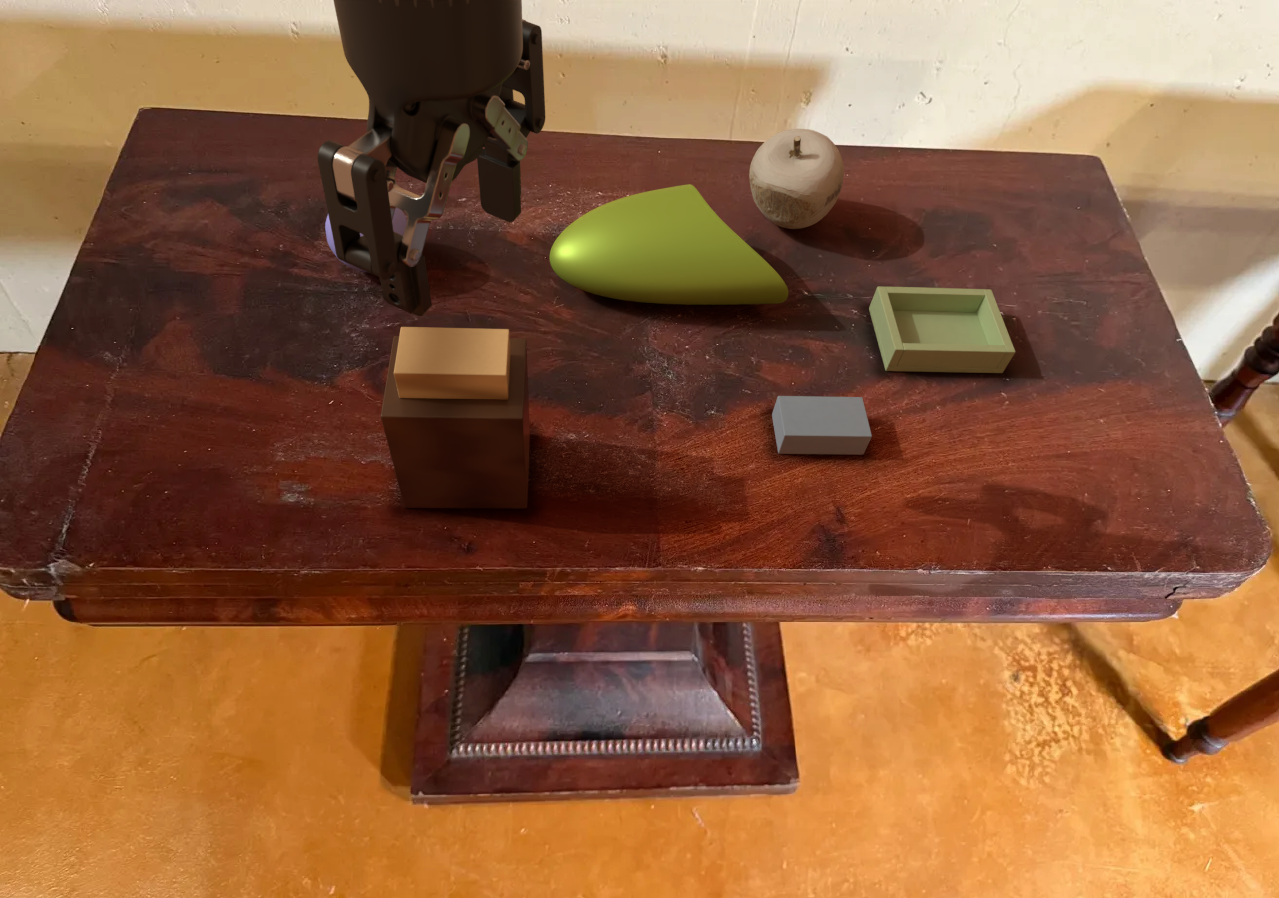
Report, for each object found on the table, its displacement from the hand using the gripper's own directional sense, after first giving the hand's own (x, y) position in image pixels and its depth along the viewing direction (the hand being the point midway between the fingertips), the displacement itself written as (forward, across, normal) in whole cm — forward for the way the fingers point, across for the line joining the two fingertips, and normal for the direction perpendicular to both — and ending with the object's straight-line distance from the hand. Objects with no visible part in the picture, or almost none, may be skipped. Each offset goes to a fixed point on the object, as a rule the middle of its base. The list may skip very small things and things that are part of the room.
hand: (458, 258), depth 48 cm
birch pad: (+12, +1, +2) cm, 13 cm away
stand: (+23, +1, +2) cm, 24 cm away
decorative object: (+24, +42, -8) cm, 49 cm away
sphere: (+24, +16, +22) cm, 36 cm away
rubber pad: (+23, +18, -20) cm, 36 cm away
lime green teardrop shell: (+24, +27, -1) cm, 36 cm away
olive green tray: (+23, +34, -26) cm, 48 cm away
